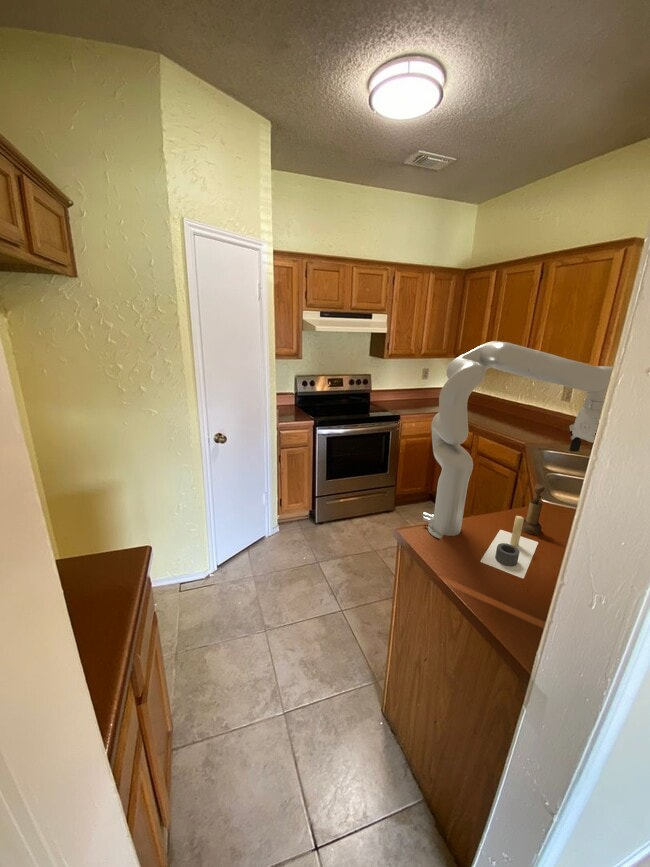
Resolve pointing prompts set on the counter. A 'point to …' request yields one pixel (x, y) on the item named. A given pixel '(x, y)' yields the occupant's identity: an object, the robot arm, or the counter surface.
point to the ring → (507, 554)
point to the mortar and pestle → (534, 513)
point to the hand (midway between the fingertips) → (585, 456)
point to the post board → (514, 538)
